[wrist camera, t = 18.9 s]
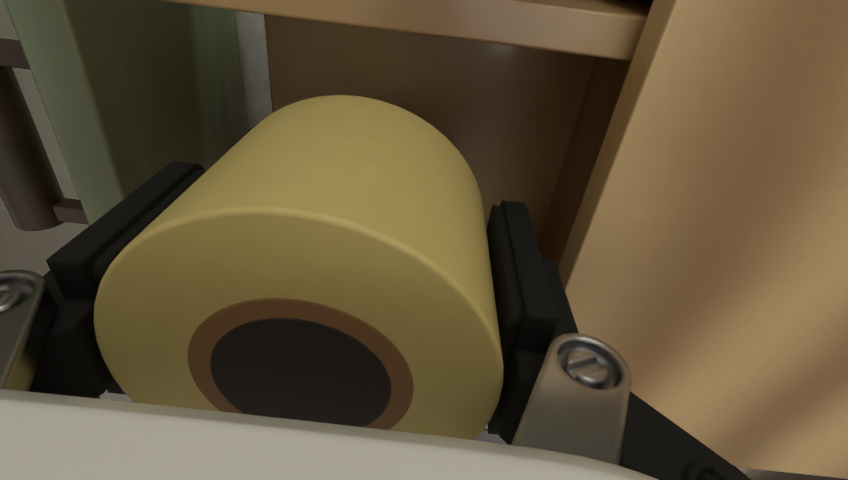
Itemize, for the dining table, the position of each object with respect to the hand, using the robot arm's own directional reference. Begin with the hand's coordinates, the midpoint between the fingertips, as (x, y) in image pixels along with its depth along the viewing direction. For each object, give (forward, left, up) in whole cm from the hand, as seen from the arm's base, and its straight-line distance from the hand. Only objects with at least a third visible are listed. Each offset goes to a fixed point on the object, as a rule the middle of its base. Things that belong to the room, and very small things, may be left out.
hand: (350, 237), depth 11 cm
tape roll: (0, 0, -1) cm, 1 cm away
